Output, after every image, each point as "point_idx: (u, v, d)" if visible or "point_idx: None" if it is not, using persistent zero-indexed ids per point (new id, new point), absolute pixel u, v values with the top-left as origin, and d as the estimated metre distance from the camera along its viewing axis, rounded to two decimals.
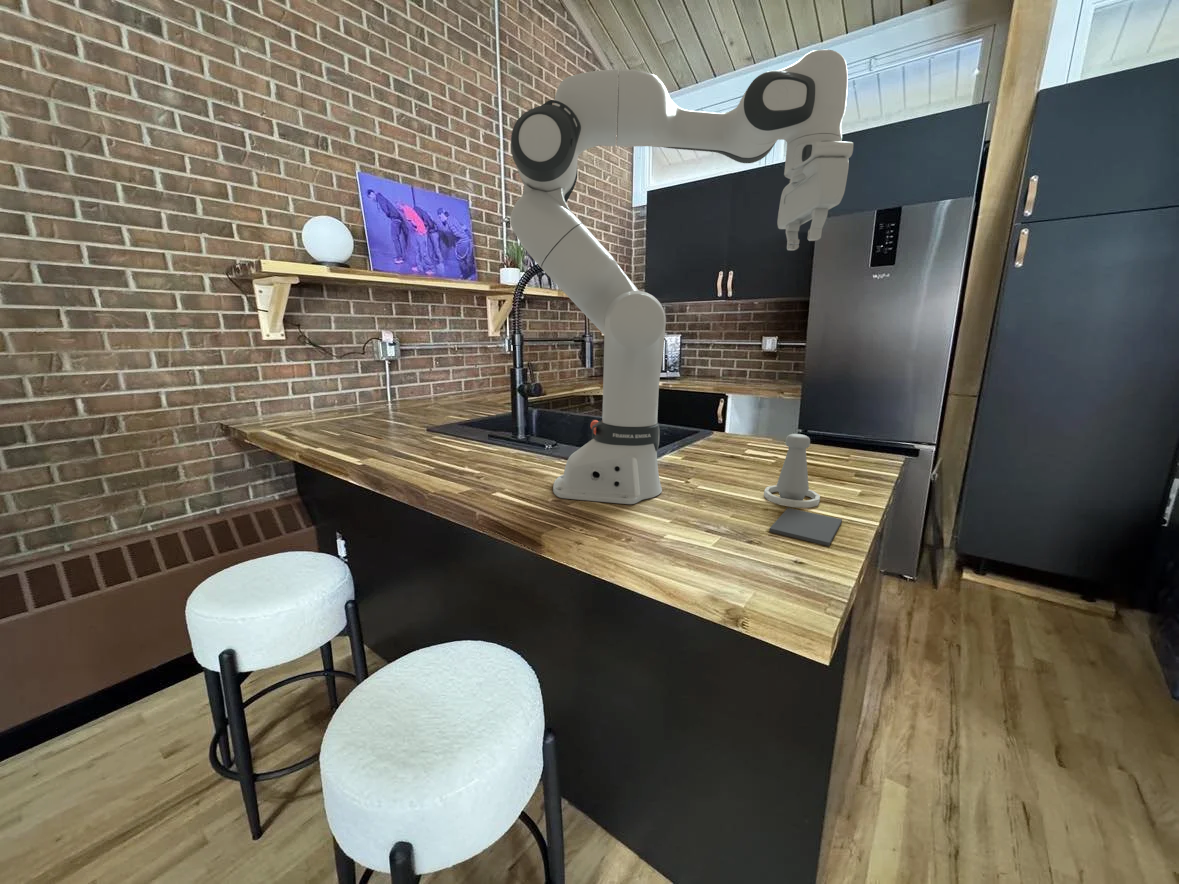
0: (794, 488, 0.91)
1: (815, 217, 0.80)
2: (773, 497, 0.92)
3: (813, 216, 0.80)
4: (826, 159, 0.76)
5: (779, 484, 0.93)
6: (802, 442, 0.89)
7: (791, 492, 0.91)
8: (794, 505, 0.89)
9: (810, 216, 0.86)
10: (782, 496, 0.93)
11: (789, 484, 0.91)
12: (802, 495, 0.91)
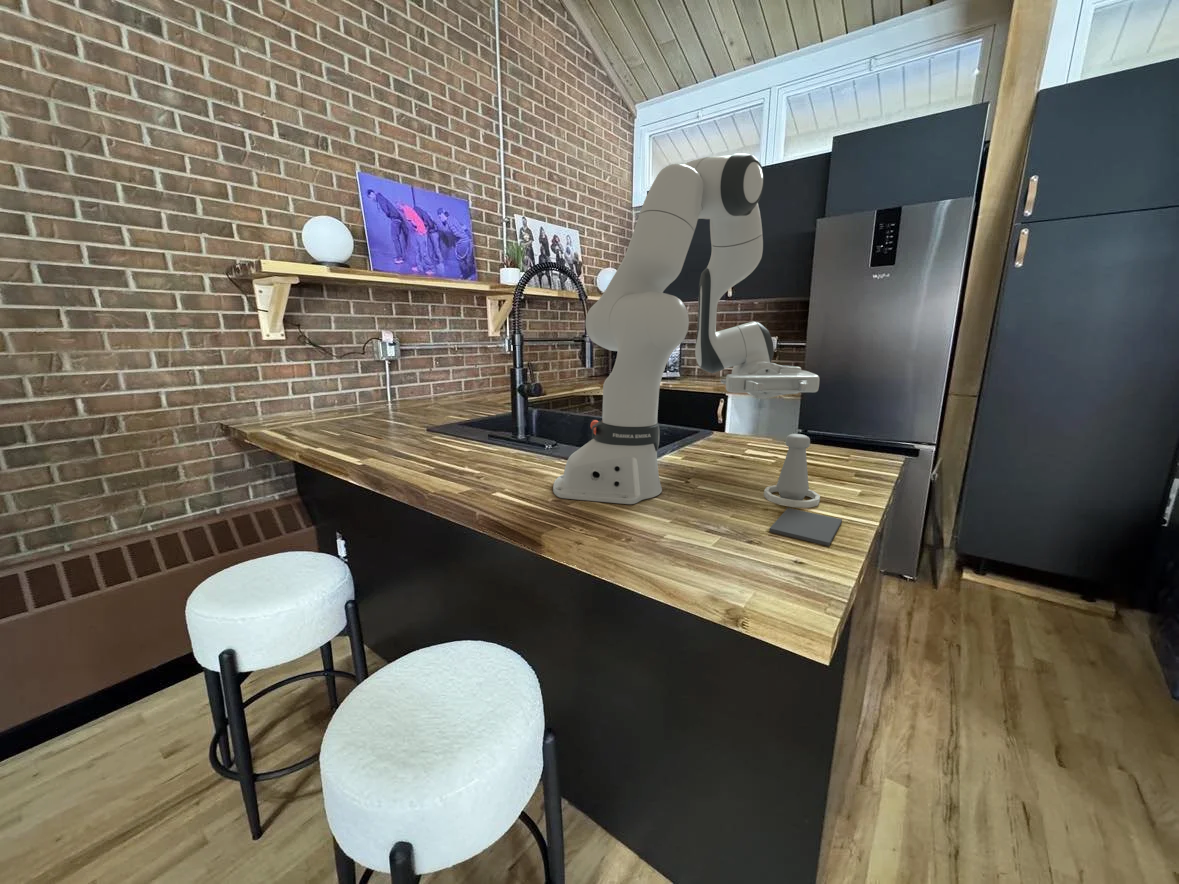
0: (794, 488, 0.91)
1: (806, 381, 1.03)
2: (773, 497, 0.92)
3: (804, 380, 1.04)
4: None
5: (779, 484, 0.93)
6: (802, 442, 0.89)
7: (791, 492, 0.91)
8: (794, 505, 0.89)
9: (770, 389, 1.06)
10: (782, 496, 0.93)
11: (789, 484, 0.91)
12: (802, 495, 0.91)
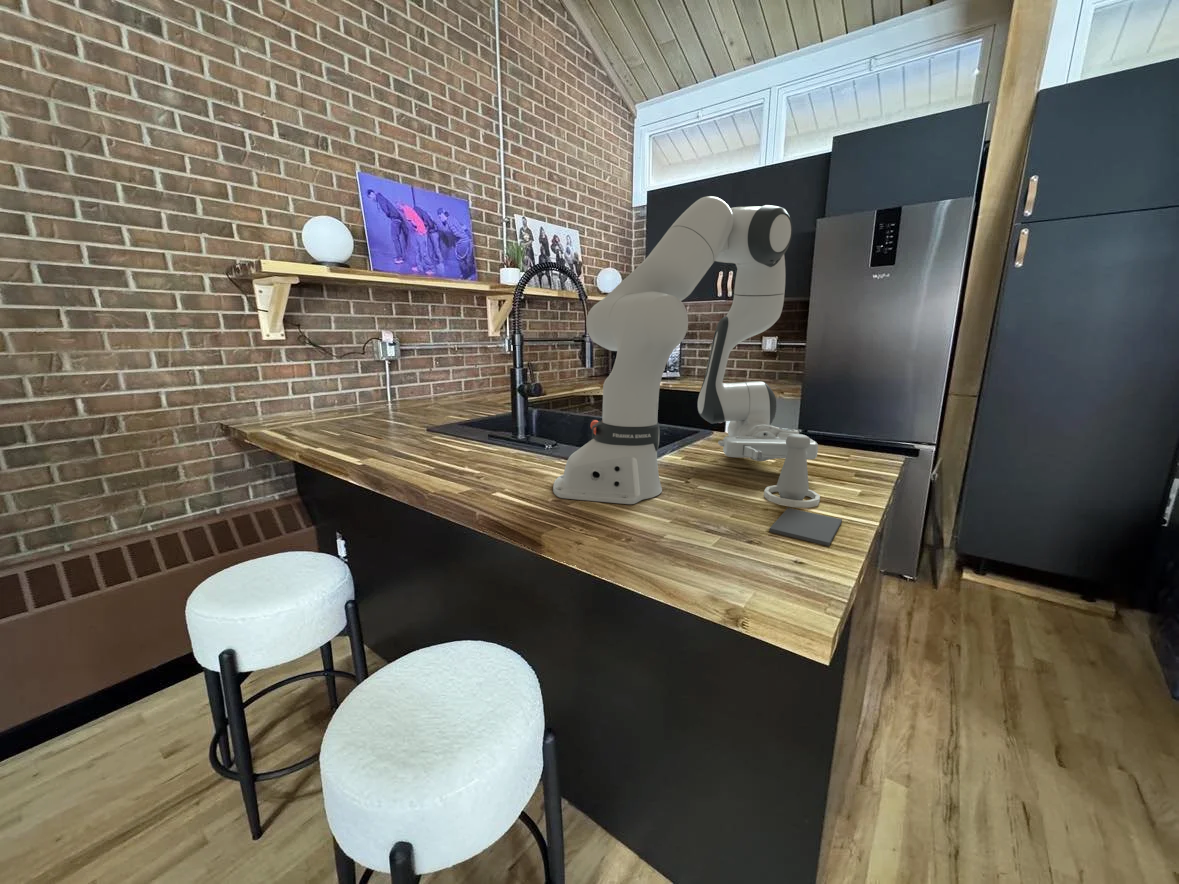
0: (794, 488, 0.91)
1: None
2: (773, 497, 0.92)
3: None
4: None
5: (779, 484, 0.93)
6: (802, 442, 0.89)
7: (791, 492, 0.91)
8: (794, 505, 0.89)
9: (768, 455, 1.04)
10: (782, 496, 0.93)
11: (789, 484, 0.91)
12: (802, 495, 0.91)
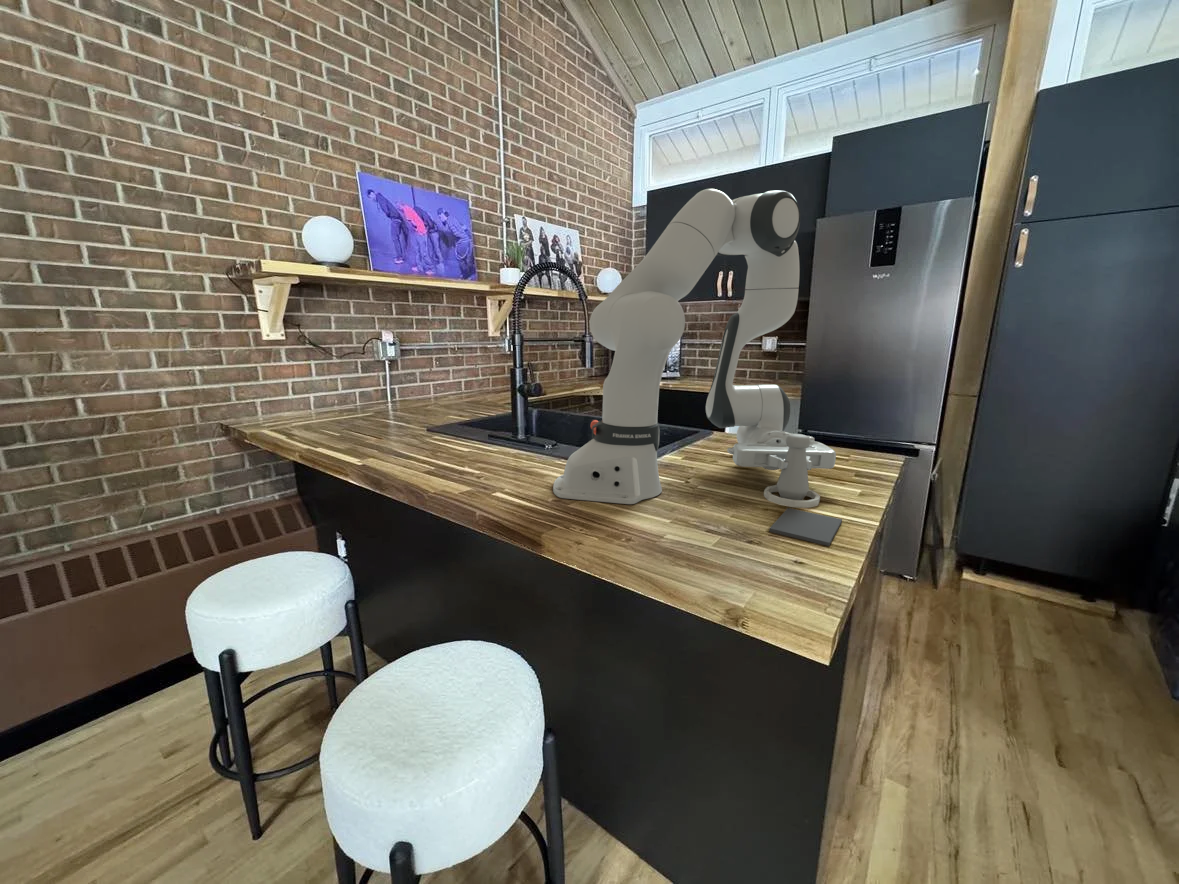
0: (794, 488, 0.91)
1: (810, 457, 0.94)
2: (773, 497, 0.92)
3: (807, 456, 0.95)
4: None
5: (779, 484, 0.93)
6: (802, 442, 0.89)
7: (791, 492, 0.91)
8: (794, 505, 0.89)
9: None
10: (782, 496, 0.93)
11: (789, 484, 0.91)
12: (802, 495, 0.91)
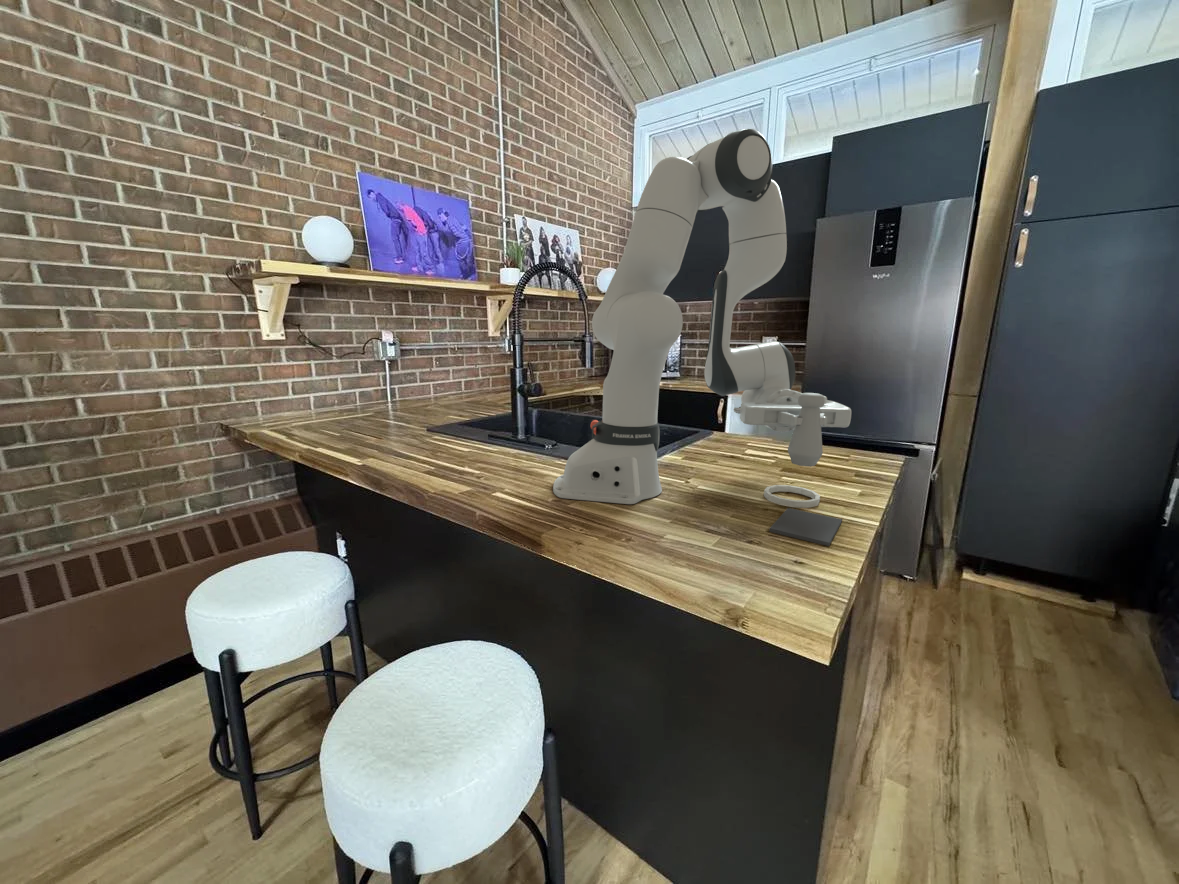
0: (806, 451, 0.84)
1: (824, 414, 0.87)
2: (773, 497, 0.92)
3: (821, 413, 0.88)
4: None
5: (790, 447, 0.86)
6: (816, 400, 0.82)
7: (803, 455, 0.84)
8: (794, 505, 0.89)
9: None
10: (793, 460, 0.86)
11: (801, 446, 0.84)
12: (815, 459, 0.84)
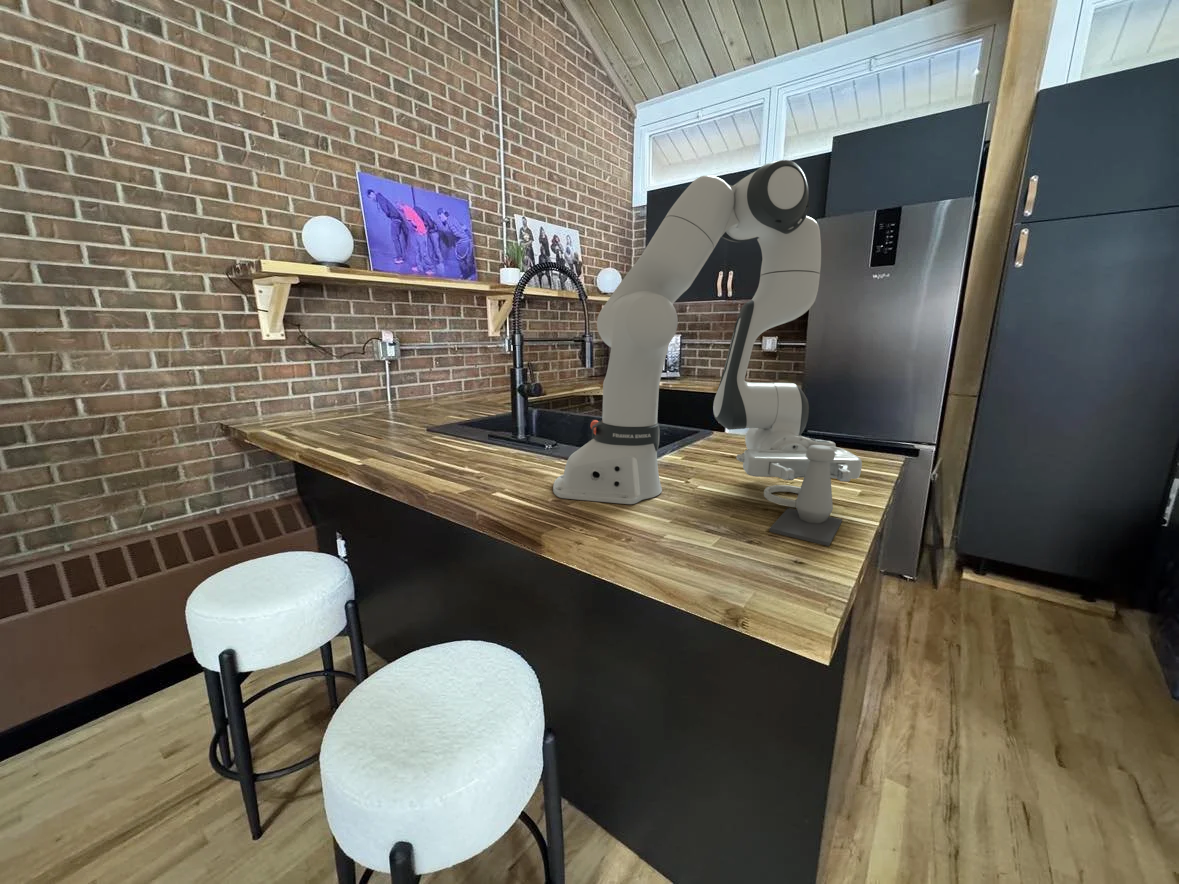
0: (815, 508, 0.79)
1: (847, 467, 0.82)
2: (773, 497, 0.92)
3: (844, 465, 0.82)
4: None
5: (798, 502, 0.81)
6: (826, 455, 0.77)
7: (812, 513, 0.79)
8: (794, 505, 0.89)
9: (800, 474, 0.84)
10: (802, 516, 0.81)
11: (810, 502, 0.79)
12: (825, 516, 0.79)
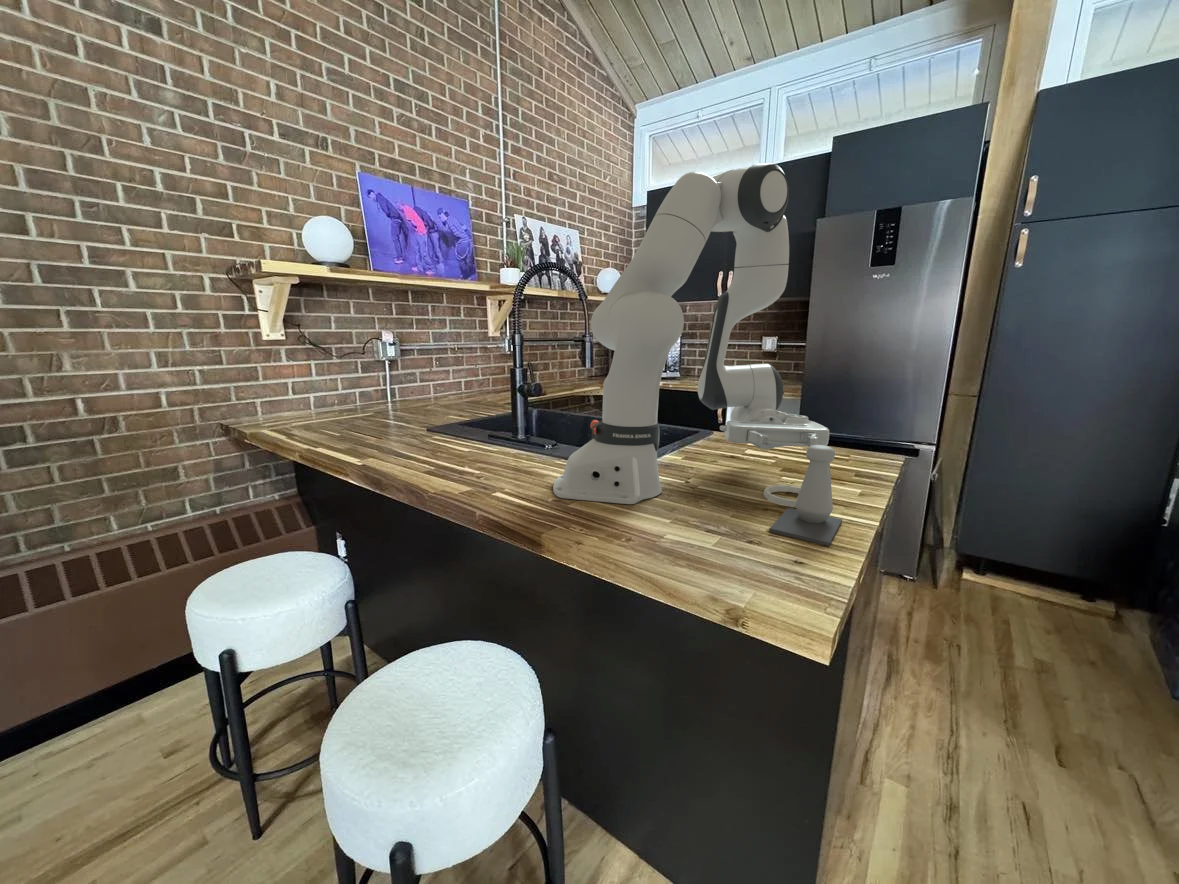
0: (815, 508, 0.79)
1: (816, 435, 0.93)
2: (773, 497, 0.92)
3: (813, 434, 0.93)
4: None
5: (798, 502, 0.81)
6: (826, 455, 0.77)
7: (812, 513, 0.79)
8: (794, 505, 0.89)
9: (774, 441, 0.95)
10: (802, 516, 0.81)
11: (810, 502, 0.79)
12: (825, 516, 0.79)
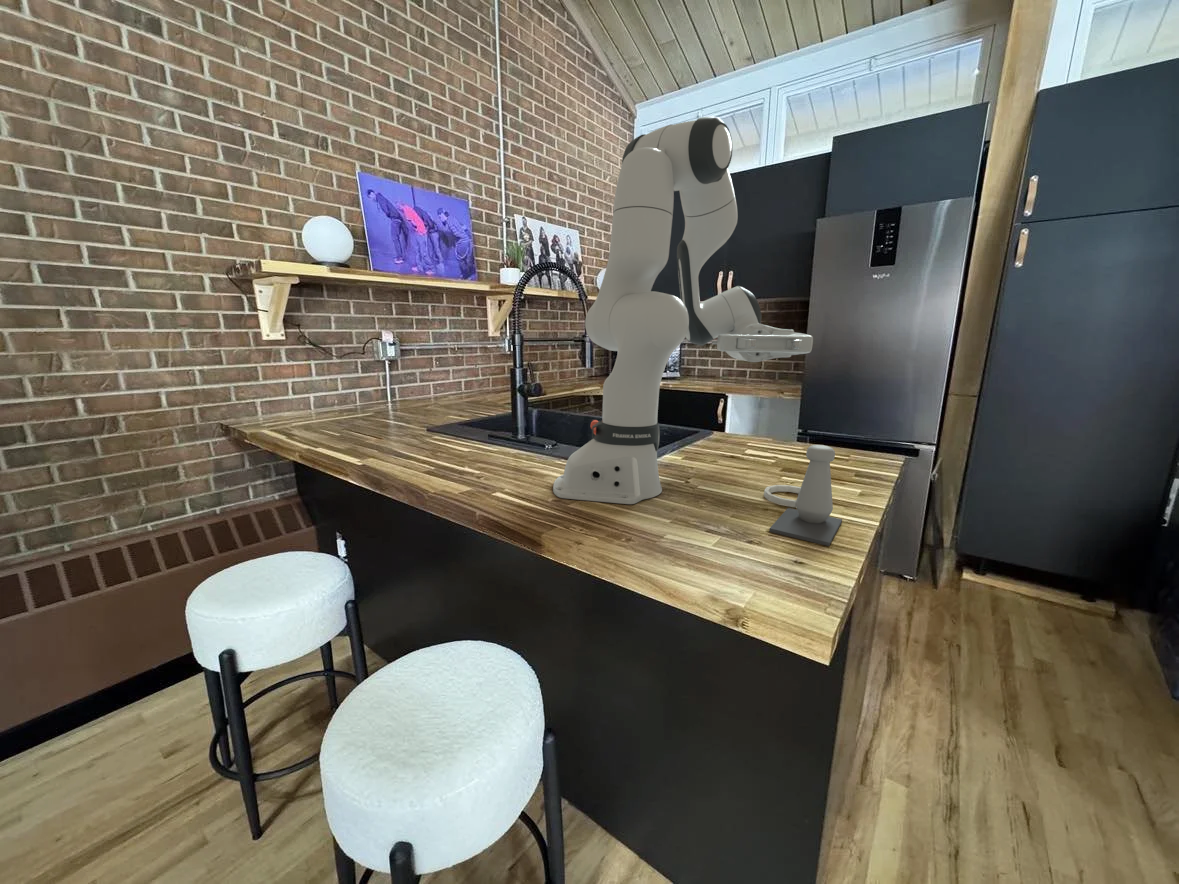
0: (815, 508, 0.79)
1: (800, 340, 1.01)
2: (773, 497, 0.92)
3: (797, 339, 1.01)
4: None
5: (798, 502, 0.81)
6: (826, 455, 0.77)
7: (812, 513, 0.79)
8: (794, 505, 0.89)
9: (762, 349, 1.03)
10: (802, 516, 0.81)
11: (810, 502, 0.79)
12: (825, 516, 0.79)
